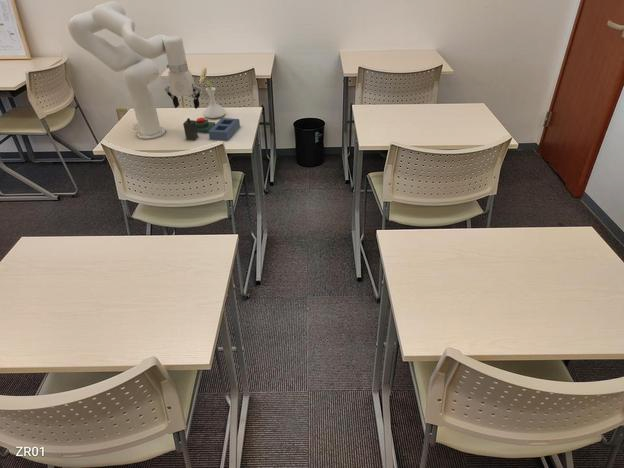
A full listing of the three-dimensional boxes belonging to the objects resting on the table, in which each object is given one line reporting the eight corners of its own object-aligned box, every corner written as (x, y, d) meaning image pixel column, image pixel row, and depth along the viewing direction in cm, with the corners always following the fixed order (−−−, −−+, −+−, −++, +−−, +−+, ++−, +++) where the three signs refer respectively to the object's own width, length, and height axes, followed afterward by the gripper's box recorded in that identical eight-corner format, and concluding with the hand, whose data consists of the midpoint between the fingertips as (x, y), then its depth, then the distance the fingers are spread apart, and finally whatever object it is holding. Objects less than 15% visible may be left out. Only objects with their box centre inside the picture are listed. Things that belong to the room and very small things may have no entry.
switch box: (188, 132, 227) (187, 125, 225) (196, 124, 234) (195, 117, 232) (208, 133, 225) (206, 126, 223) (215, 125, 232) (214, 118, 230)
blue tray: (209, 139, 219) (208, 131, 217) (223, 125, 231) (221, 117, 229) (227, 140, 217) (226, 132, 215) (240, 126, 229) (239, 118, 227)
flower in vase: (206, 111, 247) (197, 62, 232) (228, 111, 246) (220, 61, 231) (200, 122, 236) (190, 70, 221) (223, 121, 235) (215, 70, 221)
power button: (196, 123, 226) (195, 120, 225) (199, 120, 229) (198, 117, 228) (203, 124, 226) (202, 120, 225) (206, 121, 228) (205, 117, 227)
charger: (186, 140, 220) (182, 120, 214) (190, 136, 223) (186, 116, 217) (194, 140, 219) (190, 120, 213) (198, 136, 222) (194, 117, 216)
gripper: (155, 70, 201) (165, 109, 211) (193, 70, 197) (201, 111, 207) (164, 64, 207) (173, 103, 217) (201, 65, 203) (208, 104, 213)
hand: (187, 107), depth 212 cm, fingers open, 9 cm apart
